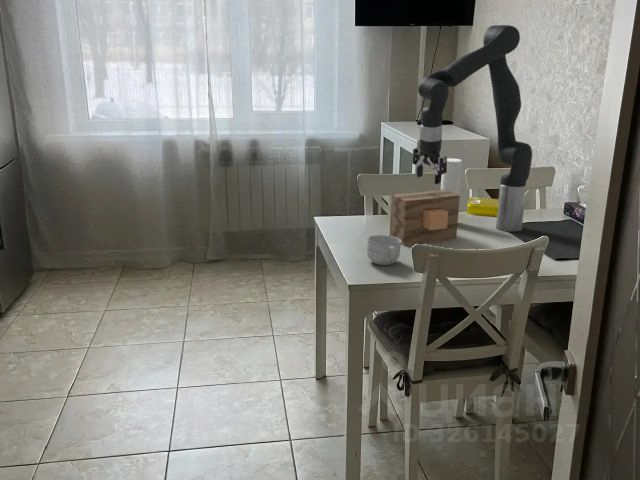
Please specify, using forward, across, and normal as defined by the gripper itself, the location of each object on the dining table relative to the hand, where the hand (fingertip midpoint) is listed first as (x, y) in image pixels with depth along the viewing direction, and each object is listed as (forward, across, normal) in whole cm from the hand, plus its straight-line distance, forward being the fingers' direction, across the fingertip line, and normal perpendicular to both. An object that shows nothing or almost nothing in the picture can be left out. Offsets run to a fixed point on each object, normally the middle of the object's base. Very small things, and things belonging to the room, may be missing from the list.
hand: (428, 180), depth 224 cm
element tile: (+30, +6, -43) cm, 53 cm away
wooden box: (+20, -4, +6) cm, 21 cm away
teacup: (+14, -16, +36) cm, 42 cm away
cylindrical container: (+25, +4, -16) cm, 30 cm away
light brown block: (+13, -9, +6) cm, 17 cm away
